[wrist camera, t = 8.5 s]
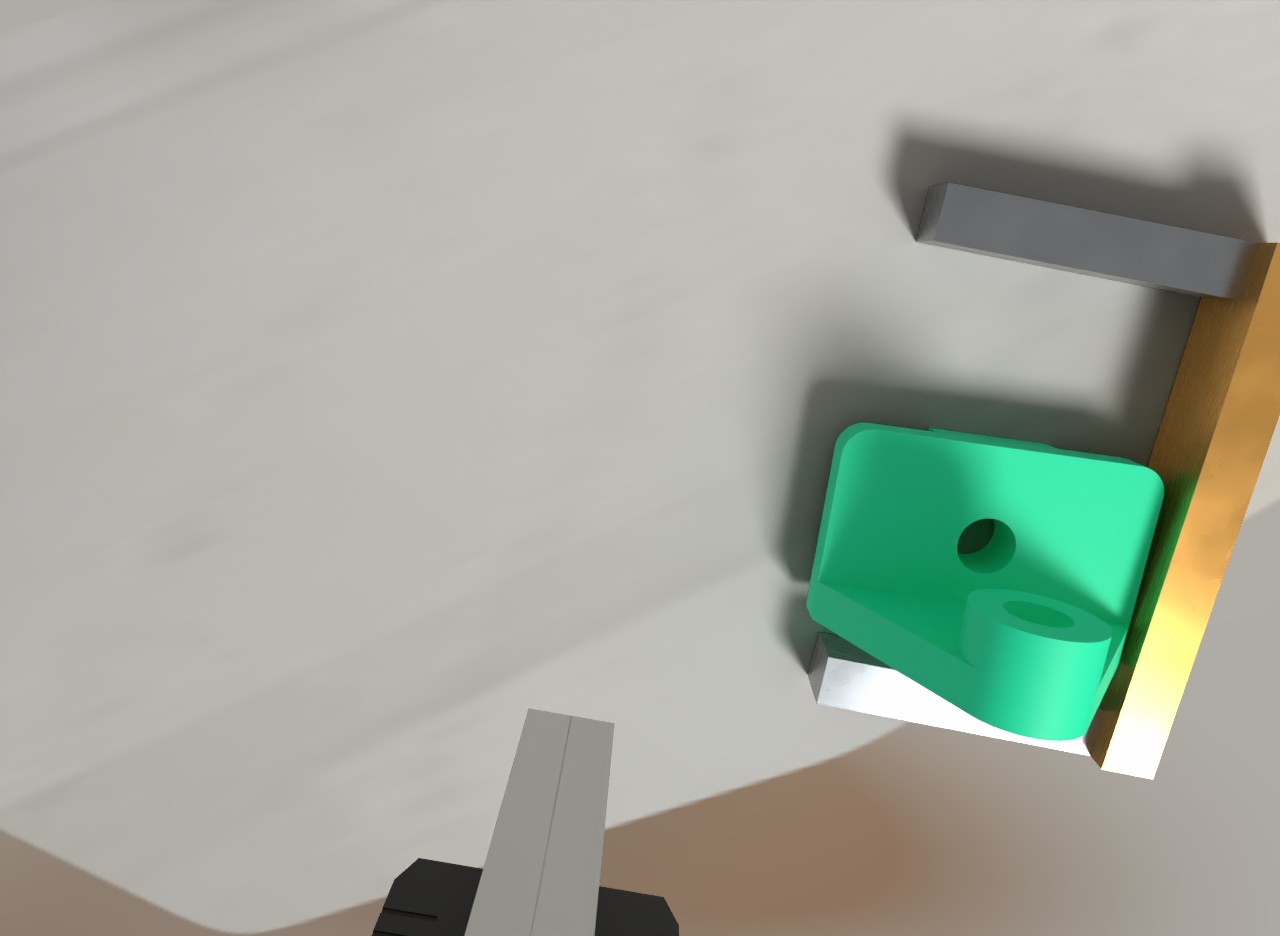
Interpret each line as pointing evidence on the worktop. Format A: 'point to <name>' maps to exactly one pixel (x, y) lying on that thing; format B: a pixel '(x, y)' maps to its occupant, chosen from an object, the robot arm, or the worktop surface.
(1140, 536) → the camera mount
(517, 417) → the worktop surface
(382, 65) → the worktop surface
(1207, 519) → the dock
